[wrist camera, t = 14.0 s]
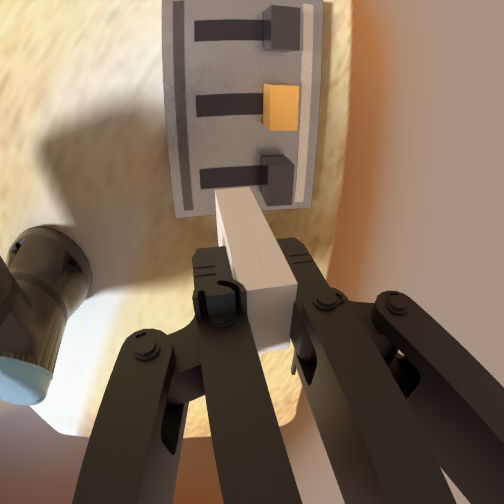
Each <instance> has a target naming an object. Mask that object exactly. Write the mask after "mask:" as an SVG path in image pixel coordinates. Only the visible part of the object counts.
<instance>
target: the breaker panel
mask: <svg viewBox="0 0 504 504" xmlns="http://www.w3.org/2000/svg"><path fill="white" fill-rule="evenodd" d="M322 31H323V0H162V62H163V86H164V104H165V119H166V132H167V144H168V155H169V165H170V175H171V184H172V193H173V201H174V209H175V217H176V218H184V217H194V216H205V215H216V201H215V190H219V189H230V188H242V187H249V188H250V190H251V191H252V193H253V195H254V197H255V199H256V201H257V203H258V205H259V207H260V209H261V211H267V210H282V209H297V208H311V201H312V191H313V181H314V170H315V159H316V147H317V134H318V120H319V104H320V86H321V64H322ZM264 83H274V84H292V85H296V86H299V103H298V124H297V131H270V130H268V129H267V128H266V127H265V126H264V125H263V90H264Z"/></svg>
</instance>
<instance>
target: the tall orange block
mask: <svg viewBox="0 0 504 504" xmlns="http://www.w3.org/2000/svg"><path fill="white" fill-rule="evenodd" d="M298 103H299V86H296V85H292V84H274V83H264V90H263V125H264V126H265V127H266V128H267V129H268V130H270V131H297V124H298Z"/></svg>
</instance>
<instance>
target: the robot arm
mask: <svg viewBox="0 0 504 504" xmlns="http://www.w3.org/2000/svg"><path fill="white" fill-rule="evenodd" d="M215 201H216V217H217V233H218V245H219V247H211V248H202V249H197V251H196V252H195V254H194V256H193V258H192V262H193V276H194V288H195V290H194V292H193V297H192V299H193V305H194V311H195V316H194V319H193V320H192V321H191V322H190V324H188V325H187V326H186V327H185V328H183V329H181V330H179V331H176V332H174V333H171V334H169V335H166V334H165V333H164V332H162V331H160V330H156V329H142V330H139V331H137V332H134V333H133V334H131V335H130V336H129V337H128V338H126V340H125V342H124V343H123V345H122V347H121V349H120V352H119V355H118V357H117V360H116V362H115V365H114V368H113V370H112V373H111V376H110V379H109V381H108V384H107V387H106V390H105V393H104V396H103V399H102V402H101V404H100V407H99V410H98V414H97V417H96V420H95V423H94V426H93V429H92V432H91V436H90V439H89V442H88V446H87V449H86V452H85V456H84V460H83V463H82V467H81V470H80V474H79V479H78V482H77V486H76V490H75V494H74V498H73V502H72V504H173V498H174V491H175V484H176V478H177V471H178V465H179V459H180V452H181V446H182V440H183V434H184V428H185V422H186V416H187V411H188V405H189V401H192V400H194V399H196V398H199V397H201V396H203V395H205V397H206V404H207V411H208V417H209V424H210V430H211V436H212V443H213V448H214V454H215V460H216V465H217V470H218V476H219V481H220V486H221V492H222V496H223V501H224V504H302V501H301V498H300V495H299V491H298V488H297V485H296V482H295V478H294V475H293V472H292V469H291V465H290V462H289V459H288V455H287V452H286V449H285V445H284V442H283V439H282V435H281V432H280V429H279V425H278V422H277V418H276V415H275V411H274V408H273V404H272V401H271V398H270V394H269V391H268V387H267V384H266V380H265V377H264V373H263V370H262V366H261V362H260V359H259V355H258V353H264V352H270V351H276V350H281V349H287V348H289V344H290V337H291V340H292V343H293V345H294V348H295V350H294V356H293V362H292V367H291V373H292V375H295V372H296V369H297V371H298V374H299V377H300V380H301V382H302V385H303V388H304V390H305V393H306V396H307V399H308V402H309V405H310V407H311V410H312V413H313V416H314V418H315V421H316V424H317V427H318V430H319V432H320V435H321V438H322V441H323V444H324V446H325V449H326V452H327V455H328V457H329V460H330V463H331V466H332V468H333V471H334V474H335V477H336V480H337V483H338V485H339V488H340V491H341V494H342V497H343V499H344V502H345V504H456V501H455V499H454V497H453V495H452V492H451V490H450V488H449V486H448V484H447V481H446V479H445V477H444V475H443V473H442V471H441V468H442V469H443V471H444V472H445V473H446V474H447V476H448V477H449V478H450V479H451V480H452V482H453V483H454V484H455V485H456V486H457V488H458V489H459V490H460V491H461V492H462V494H463V495H464V496H465V497H466V498H467V500H468V501H469V502H470V503H471V504H504V388H503V386H502V385H500V383H499V382H498V381H497V380H496V379H495V378H494V377H493V376H492V375H491V374H490V373H489V372H488V371H487V370H486V369H485V368H484V367H483V366H482V365H481V364H480V363H479V362H478V361H477V360H476V359H475V358H474V357H473V356H472V355H471V354H470V353H469V352H468V351H467V350H466V349H465V348H464V347H463V346H462V345H461V344H460V343H459V342H458V341H457V340H456V339H455V338H454V337H452V336H451V335H450V334H449V333H448V332H447V331H446V330H445V329H444V328H443V327H442V326H441V325H440V324H438V322H436V321H435V320H434V319H433V318H432V317H431V316H430V315H429V314H428V313H426V312H425V311H424V310H423V309H422V308H421V307H420V306H419V305H418V304H416V303H415V302H414V301H413V300H412V299H411V298H410V297H408V296H407V295H405V294H403V293H400V292H397V291H385V292H382V293H381V294H379V295H378V296H377V299H376V301H375V303H364V302H352V301H349V300H348V298H347V297H346V296H345V295H344V294H343V293H342V292H340V291H339V290H337V289H335V288H331V287H329V285H328V284H327V282H326V280H325V278H324V277H323V275H322V273H321V272H320V270H319V268H318V267H317V265H316V263H315V262H314V260H313V258H312V257H311V255H309V252H308V250H307V249H306V247H305V245H304V244H303V243H301V242H300V241H298V240H297V239H295V238H294V237H293V238H284V239H275V237H274V235H273V233H272V231H271V229H270V227H269V225H268V223H267V221H266V219H265V217H264V215H263V213H262V211H261V209H260V207H259V205H258V203H257V201H256V199H255V197H254V195H253V193H252V191H251V190H250V188H249V187H242V188H230V189H219V190H215ZM90 285H91V269H90V265H89V263H88V260H87V258H86V257H85V255H84V253H83V252H82V250H81V249H80V248H79V247H78V246H77V245H76V244H75V243H74V242H73V241H72V240H71V239H70V238H68V237H67V236H65V235H64V234H62V233H60V232H58V231H56V230H53V229H49V228H43V227H36V228H31V229H28V230H26V231H24V232H22V233H21V234H20V235H19V236H18V237H17V239H16V240H15V241H14V243H13V244H12V245H11V247H10V249H9V252H8V255H7V260H6V264H5V263H4V261H3V259H2V258H1V256H0V399H1V400H3V401H6V402H10V403H13V404H18V405H35V404H38V403H40V402H42V401H43V400H44V398H45V397H46V394H47V391H48V388H49V384H50V381H51V380H52V378H53V372H54V368H55V363H56V359H57V355H58V351H59V347H60V343H61V340H62V336H63V333H64V329H65V326H66V322H67V320H68V319H69V317H70V316H71V315H72V314H73V313H74V312H75V311H76V310H77V308H78V307H79V306H80V305H81V304H82V303H83V302H84V300H85V298H86V296H87V294H88V291H89V288H90ZM398 350H400V351H401V352H402V353H403V354H404V355H405V356H403V355H400V354H399V353H398ZM440 467H441V468H440Z"/></svg>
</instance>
